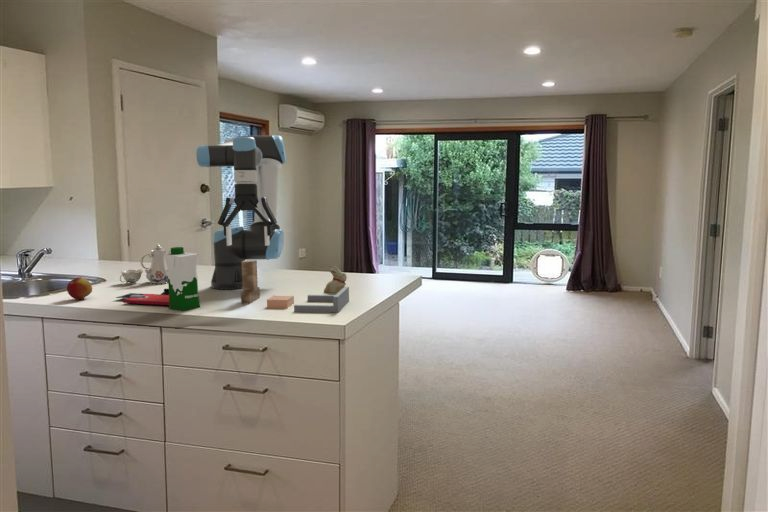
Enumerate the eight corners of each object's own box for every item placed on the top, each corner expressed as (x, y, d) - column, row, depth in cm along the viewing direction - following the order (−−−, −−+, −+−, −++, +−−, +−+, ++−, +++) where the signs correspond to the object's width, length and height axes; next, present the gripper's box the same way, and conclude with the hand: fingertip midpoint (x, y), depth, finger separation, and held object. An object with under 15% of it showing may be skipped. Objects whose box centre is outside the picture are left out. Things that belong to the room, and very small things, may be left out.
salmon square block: (267, 308, 200) (266, 299, 199) (274, 304, 206) (273, 295, 206) (287, 309, 198) (287, 300, 198) (294, 304, 205) (293, 296, 205)
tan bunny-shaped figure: (343, 293, 223) (343, 266, 221) (323, 292, 224) (322, 266, 223) (347, 290, 228) (346, 264, 227) (327, 290, 230) (326, 263, 228)
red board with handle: (134, 294, 224) (105, 303, 210) (134, 287, 224) (104, 295, 210) (205, 298, 216) (179, 307, 201) (204, 290, 215) (179, 298, 201)
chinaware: (174, 279, 270) (170, 242, 269) (197, 278, 260) (193, 240, 259) (115, 288, 247) (110, 248, 246) (138, 288, 238) (133, 246, 236)
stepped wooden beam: (240, 303, 206) (238, 263, 205) (250, 297, 216) (248, 259, 214) (251, 303, 206) (249, 263, 204) (261, 298, 216) (259, 259, 214)
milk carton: (186, 304, 207) (183, 246, 204) (204, 306, 202) (201, 247, 199) (164, 309, 199) (161, 248, 197) (183, 312, 195) (179, 250, 192)
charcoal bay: (294, 311, 193) (293, 296, 192) (308, 300, 210) (308, 286, 210) (338, 312, 191) (337, 297, 190) (349, 301, 208) (348, 286, 208)
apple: (68, 298, 219) (66, 276, 218) (93, 296, 223) (91, 275, 222) (67, 302, 213) (65, 279, 212) (92, 300, 216) (90, 278, 215)
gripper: (206, 183, 204) (209, 246, 206) (277, 182, 200) (280, 246, 203) (215, 183, 211) (218, 244, 214) (284, 182, 208) (286, 244, 210)
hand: (248, 245), depth 208 cm, fingers open, 13 cm apart
